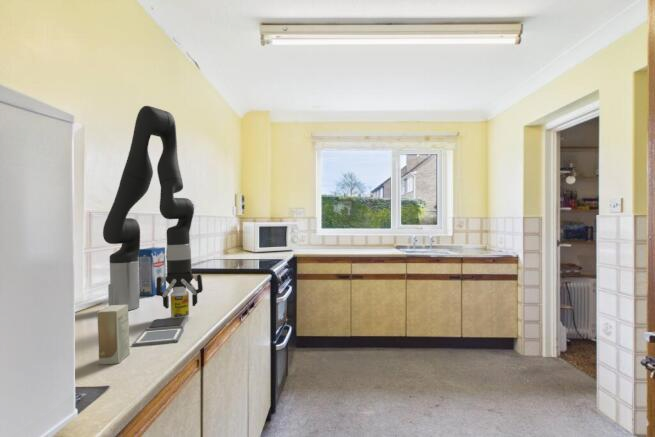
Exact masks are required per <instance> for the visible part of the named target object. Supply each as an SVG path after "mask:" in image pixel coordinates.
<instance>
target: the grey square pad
mask: <svg viewBox="0 0 655 437" xmlns="http://www.w3.org/2000/svg"><path fill="white" fill-rule="evenodd" d="M184 331H185V329H184V328H183V329H169V330H157V331H146V330H145V331H142V332H141V333H140V335H139V336H138V337H137V338H136V340H134V341H133V343H132V346H131V347H140V346H151V345H152V346H153V345H160V344H162V345H163V344H172V343H179V340H180V338H181V337H182V334H183V333H184Z"/></svg>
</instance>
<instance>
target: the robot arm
mask: <svg viewBox="0 0 655 437" xmlns="http://www.w3.org/2000/svg"><path fill="white" fill-rule="evenodd" d="M176 126H177V125H176V120H175V117H174V116H173V114H172V113H171V112H169V111H167V110H165V109H161V108H158V107H154V106H150V105H144V106H142V107H141V108H139V111H138V113H137V116H136V118H135V123H134V128H133V134H132V140H131V143H130V147H129V151H128V154H127V159H126V162H125V165H124V168H123V171H122V174H121V178H120V181H119V186H118V189H117V192H116V194H115V198H114V201H113V203H112V206H111V208H110V210H109V213H108V215H107V217H106V219H105V221H104V225H103V228H102V229H103V230H102V236H103V240H104V241H105V242H106V243H107V244H110V245H118V244H119V245H120V244H121V247H120V248H119V249H118V250H117V251H115V252H113V253H112V254H110V255H109V282H110V283H109V284H108V285H107V286H108V287H107V288H108V290H107V291H108V306H110V305H128V311H131V310H135V309H138V308H139V307H140V295H139V262H138V256H139V252H140V249H141V228H140V224H139V222H138V220H137V219H135V218H131V217H128V218H127V216H128V214H129V212H130V211H131V209H133V207H134V206H135V205H136V204H137V203H138V202H139V201H140V200H142V198H143V197H144V196H145V194H147V192H148V191H149V187H150V185H151V182H152V179H153V176H154V170H153V165H152V162H151V158H150V155H149V143H150V139H151V136H155V137H159V138H160V141H161V142H162V152H161V154H160V157H159V160H158V163H157V166H156V167H157V168H156V171H157V177H158V182H159V186H160V196H159V212H160V214H161V216H162V217H163V218H165V219H166V220H178V221H177V223H176V224H175V225H173V226H170V227H168V228H167V229H166V250H165V259H166V277H161V276H159V277H158V278H157V286H156V296H158V297H159V296H160V297H162V306H163V308H165V309H169V308H170V303H169V302H170V300H169V293H170V292H171V291H172V290H173V288H174V287H184V288H186V290H188V291H190V293H191V294H192V295H191V300H192V307H196V305H197V304H198V294H200V293H202V292H203V291H204V290H203V288H204V287H203V276H202V275H203V274H201V273H198V274H193V272H192V250H191V245H190V243H191V242H190V240H191V239H190V230H191V226H192V223H193V222H192V221H193V218H194V215H195V207H194V203H193V201H192V200H190V199H189V198H187V197H175V196H174V195H175V194H177V193H179V192H182V191H183V189H184V184H183V178H182V174H181V170H180V166H179V159H178V142H177V140H178V139H177V127H176ZM193 279H194V280H195V282H197V289H196V288H195V287H194V285H193V284H192V283H191V282H192V281H193ZM165 280H166V283H168V287H166V291H165V292H162V283H164V281H165Z"/></svg>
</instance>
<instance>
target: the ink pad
mask: <svg viewBox="0 0 655 437" xmlns="http://www.w3.org/2000/svg"><path fill="white" fill-rule="evenodd" d="M188 317H189V316H188ZM188 317H178V318H172V317H166V318H156V319H153V320H152V321H151V322H150V324H149V325H148V326H147V327H146V328H145V332H146V331H157V330H169V329H184V328H185V326H186V324H187V322H188Z"/></svg>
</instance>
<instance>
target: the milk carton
mask: <svg viewBox="0 0 655 437" xmlns="http://www.w3.org/2000/svg"><path fill="white" fill-rule="evenodd" d="M138 274H139V297H156V296H157V295H156V286H157V278H158V277H159V276H161V277H166V276H167V266H166V247H164V246H163V247H162V246H161V247H155V246H154V247H147V248H140V252H139V256H138ZM166 289H167V281H166V280H165V281H164V283H162V292H165V291H166ZM155 295H156V296H155Z"/></svg>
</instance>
